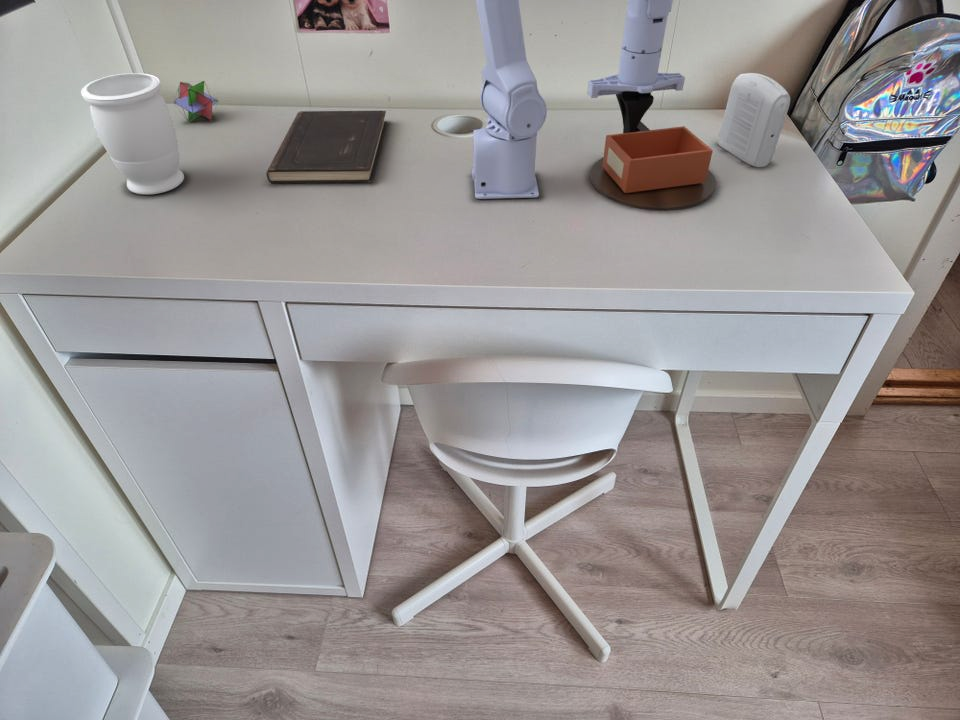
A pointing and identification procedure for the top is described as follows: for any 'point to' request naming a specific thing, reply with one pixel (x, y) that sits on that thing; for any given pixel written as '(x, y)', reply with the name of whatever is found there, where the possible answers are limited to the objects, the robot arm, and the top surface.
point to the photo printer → (754, 118)
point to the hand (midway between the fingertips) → (627, 138)
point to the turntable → (653, 192)
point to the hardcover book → (329, 148)
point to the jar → (136, 130)
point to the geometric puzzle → (195, 100)
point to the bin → (656, 158)
